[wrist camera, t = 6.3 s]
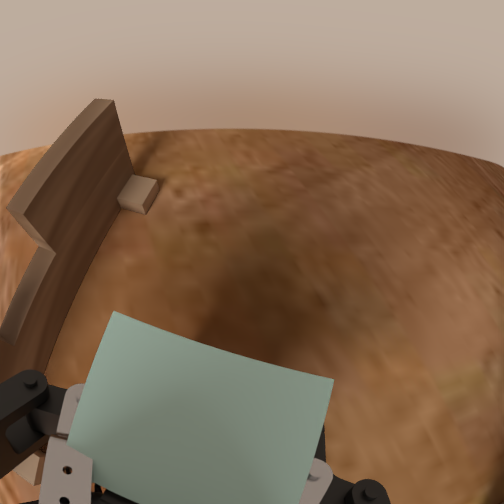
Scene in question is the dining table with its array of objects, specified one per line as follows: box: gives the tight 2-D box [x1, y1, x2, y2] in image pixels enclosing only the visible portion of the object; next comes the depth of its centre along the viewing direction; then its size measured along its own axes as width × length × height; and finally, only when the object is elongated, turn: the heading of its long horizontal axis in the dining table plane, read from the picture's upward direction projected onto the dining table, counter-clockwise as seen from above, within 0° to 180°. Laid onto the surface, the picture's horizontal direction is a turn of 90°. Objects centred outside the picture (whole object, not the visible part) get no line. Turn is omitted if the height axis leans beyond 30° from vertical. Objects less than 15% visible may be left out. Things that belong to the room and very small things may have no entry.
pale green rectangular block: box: [66, 311, 334, 504], centre depth 11 cm, size 6×4×11 cm
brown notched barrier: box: [0, 99, 159, 486], centre depth 14 cm, size 6×24×8 cm, turn 164°
